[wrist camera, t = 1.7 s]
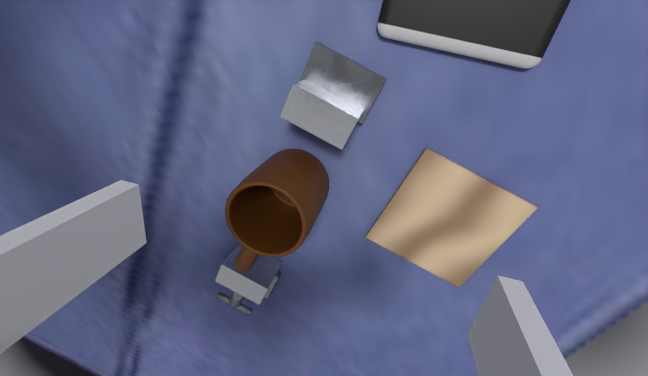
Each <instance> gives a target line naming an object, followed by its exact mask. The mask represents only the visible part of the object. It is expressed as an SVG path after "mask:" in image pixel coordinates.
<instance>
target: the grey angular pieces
mask: <svg viewBox="0 0 648 376" xmlns="http://www.w3.org/2000/svg"><path fill="white" fill-rule="evenodd" d="M385 81H386V78H384V77H382V76H380V75H378V74H377V73H375V72H373V71H371V70H369V69H367V68H365V67H364V66H362V65H360V64H358V63H356V62H354V61H352V60H350V59H349V58H347V57H345V56H343V55H341V54H339V53H337V52H336V51H334V50H332V49H330V48H328V47H326V46H324V45H323V44H321V43H319V42H316V43H315V46H314V48H313V50H312V53H311V55H310V58H309V60H308V63H307V65H306V68H305V70H304V73H303V75H302V78H301V80H300V82H297V83H294V84H293V86H292V88H291V91H290V93H289V96H288V98H287V101H286V103H285V106H284V108H283V111H282V113H281V116H280V117H282V118H283V119H285V120H287V121H289V122H291V123H293V124H295V125H296V126H298V127H300V128H302V129H304V130H306V131H308V132H309V133H311V134H313V135H315V136H317V137H319V138H321V139H322V140H324V141H326V142H328V143H330V144H332V145H334V146H336V147H337V148H339V149H341V150H342V149H343V147H344V145H345V144H346V142H347V140H348V138H349V137H350V135H351V133H352V131H353V129H354V127H355V125H356V123H357V122H359V123H361V124H362V123H363V122H364V120H365V118H366V116H367V114H368V112H369V110H370V109H371V107H372V105H373V103H374V101H375V99H376V98H377V96H378V94H379V92H380V90H381V88H382V87H383V85H384V83H385ZM242 247H243V245H242V244H240V243H239V244H238V245H237V246H236V247H235V248H234V249H233V250H232V251H231V252H230V255H229V256H228V257H227V258H226V260H225V261H224V262H223V263H222V265H221V267H220V270H219V272H218V275H217V277H216V280H215V281H216V282H218V283H219V284H221V285H223V286H225V287H227V288H229V289H231V290H232V291H233V293H232V295H231V297H229V296H227V295H225V294H223V293H221V292H219V293H218V294H217V296H216V298H218V299H220V300H222V301H224V302H226V303H228V304H229V305H231V306H232V307H235V308H237V309H239V310H241V311H242V312H244V313H246V314H248V315H250V314H251V312H252V310H253V309H251V308H249V307H247V306H246V305H244V304H242V301H243V299H244V297H245V298H247V299H249V300H251V301H253V302H255V303H257V304H258V305H260V303H261V301H262V299H263V297H265V298H266V299H267V298H268V296H269V294H270V292H271V291H272V289H273V287H274V285H275V283H276V281H277V280H278V278H279V276H280V274H281V273H280V272H279V271H278V270H279V268H280V266H281V264H282V261H280V260H278V259H276V258H274V257H266V256H262V255H259V256H258V258H257V259H256V261H255V262H254V264H253V265H252V267H251V268H250V269H249V270H248V271H247V272H245V273H241V272H238V271H237V270H236V269H235V267H234V262H235V259H236V257H237V255H238V253H239V252H240V250H241V248H242Z"/></svg>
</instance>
